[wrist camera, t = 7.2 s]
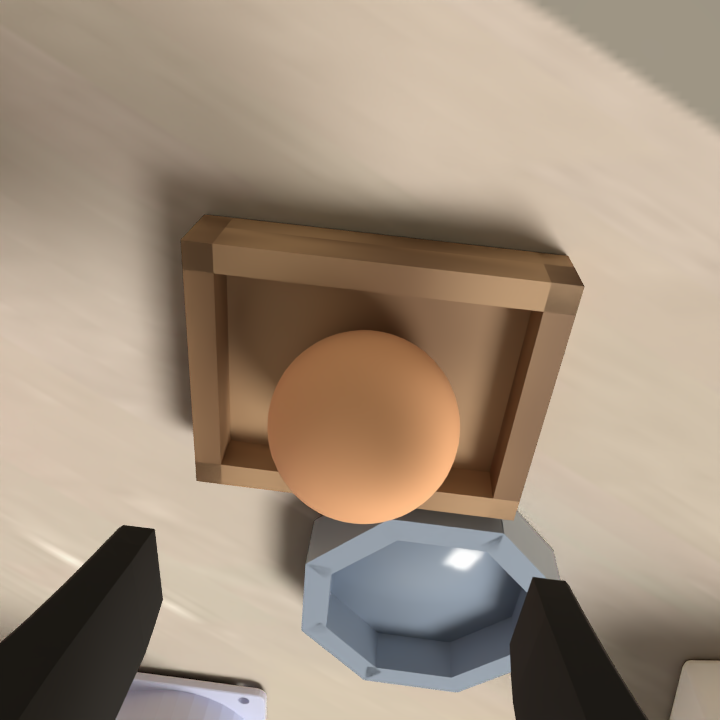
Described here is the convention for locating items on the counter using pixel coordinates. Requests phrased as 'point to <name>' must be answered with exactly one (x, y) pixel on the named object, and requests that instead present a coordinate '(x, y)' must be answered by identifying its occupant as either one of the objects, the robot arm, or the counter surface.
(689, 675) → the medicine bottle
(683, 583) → the counter surface
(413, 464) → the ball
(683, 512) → the counter surface
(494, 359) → the tray
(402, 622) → the ramekin
